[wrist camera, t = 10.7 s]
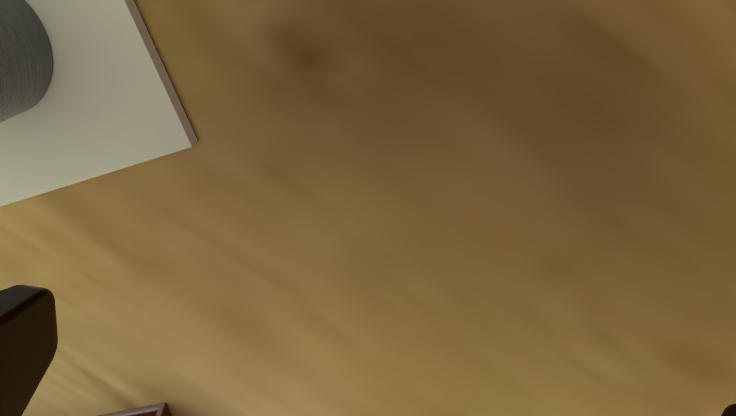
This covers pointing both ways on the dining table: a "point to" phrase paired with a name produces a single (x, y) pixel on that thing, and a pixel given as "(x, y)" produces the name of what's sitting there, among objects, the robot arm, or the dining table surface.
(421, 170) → the dining table surface
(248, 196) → the dining table surface
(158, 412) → the food container
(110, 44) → the rest pad
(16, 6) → the steel peg
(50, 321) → the robot arm
